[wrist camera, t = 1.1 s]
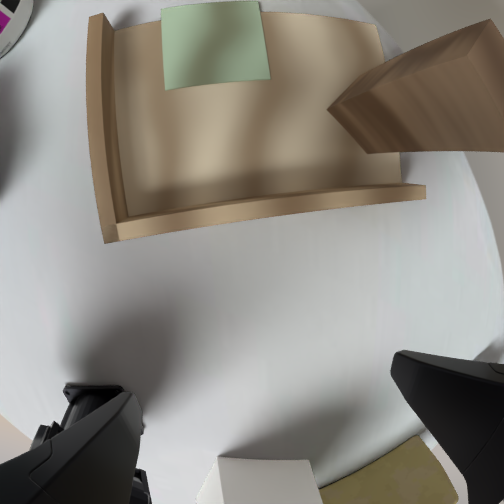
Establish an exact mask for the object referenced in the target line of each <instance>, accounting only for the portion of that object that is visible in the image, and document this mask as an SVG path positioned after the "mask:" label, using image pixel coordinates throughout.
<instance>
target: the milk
mask: <svg viewBox="0 0 504 504" xmlns="http://www.w3.org/2000/svg"><path fill="white" fill-rule="evenodd" d="M196 504H323V502H322V499H321V496H320V493H319V490H318V487H317V484H316V480H315V477H314V474H313V471H312V468H311V465H310V462H309V460H256V459H238V458H226V457H217V458H216V460H215V462H214V464H213V466H212V468H211V470H210V472H209V474H208V475H207V477H206V479H205V481H204V483H203V485H202V487H201V489H200V491H199V493H198V495H197V497H196Z"/></svg>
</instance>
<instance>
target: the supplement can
mask: <svg viewBox="0 0 504 504" xmlns="http://www.w3.org/2000/svg"><path fill="white" fill-rule="evenodd" d="M33 3H34V1H33V0H0V58H1V57H2V56H3V55H4V54H6V53H7V52H8V51H9V50H10V48H11V47H12V46H13V45H14V44H15V43H16V42H17V40H18V39H19V37H20V36H21V34H22V33H23V31H24V30H25V28H26V26H27V23H28V21H29V19H30V16H31V14H32V9H33Z"/></svg>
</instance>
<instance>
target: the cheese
mask: <svg viewBox="0 0 504 504" xmlns="http://www.w3.org/2000/svg"><path fill="white" fill-rule="evenodd" d="M319 493H320V496H321V499H322V502H323V504H456V503H457V502H458V494H457V493H456V491H455V489H454V487H453V485H452V483H451V481H450V479H449V477H448V476H447V474H446V472H445V470H444V468H443V467H442V465H441V464H440V462H439V461H438V460H437V459H436V457H435V456H434V455H433V453H432V452H431V451H430V449H429V448H428V447H427V446H426V444H425V443H424V442H423V441H422V439H421V438H420V437H419V436H417V435H416V436H413V437H412V438H410V439H409V440H407V441H406V442H404V443H403V444H401V445H400V446H398V447H397V448H395V449H394V450H392V451H391V452H389V453H388V454H386V455H384V456H383V457H381V458H379V459H378V460H376V461H374V462H373V463H371V464H369V465H368V466H366V467H364V468H362V469H360V470H359V471H357V472H355V473H353V474H351V475H349V476H347V477H345V478H343V479H341V480H339V481H337V482H335V483H333V484H330V485H328V486H326V487H324V488H321V489H319Z"/></svg>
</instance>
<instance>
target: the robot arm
mask: <svg viewBox="0 0 504 504" xmlns="http://www.w3.org/2000/svg"><path fill="white" fill-rule="evenodd" d="M390 373H391V376H392V378H393V380H394V382H395V383H396V385H397V386H398V388H399V390H400V391H401V393H402V395H403V396H404V398H405V400H406V401H407V403H408V404H409V405H410V407H411V408H412V409H413V411H414V412H415V413H416V414H417V416H418V417H419V418H420V420H421V421H422V422H423V423H424V425H425V426H426V427H427V429H428V430H429V431H430V432H431V434H432V435H433V436H434V438H435V439H436V440H437V442H438V443H439V444H440V446H441V447H442V448H443V449H444V451H445V452H446V453H447V455H448V456H449V457H450V459H451V460H452V461H453V463H454V464H455V465H456V467H457V468H458V469H459V471H460V472H461V474H463V476H464V478H465V480H466V483H467V489H468V501H469V502H468V503H469V504H499V503H500V502H501V501H502V500H503V501H504V364H497V363H486V362H478V361H471V360H463V359H457V358H450V357H443V356H437V355H431V354H425V353H419V352H414V351H408V350H402V351H399V352H396V353H395V354H394V357H393V361H392V366H391V370H390ZM116 390H117V391H116ZM118 391H119V392H118ZM63 393H64V395H65V396H66V398H67V400H68V402H69V403H70V404H69V406H68V408H67V411H66V413H65V415H64V417H63V420H62V422H61V425H60V426H59V424H58V423H56V422H55V421H53V423H52V424H51V426H45V425H40V427H39V429H38V431H37V433H36V435H35V437H34V440H33V442H32V444H31V447H30V450H29V451H28V452H26V453H24V454H22V455H20V456H18V457H15V458H13V459H11V460H9V461H6V462H4V463H2V464H0V504H152V501H151V497H150V492H149V487H148V482H147V476H146V471H144V470H141V469H137V468H136V464H137V459H138V454H139V448H140V436H141V435H142V434H143V433H144V429H143V427H142V410H141V408H140V405H139V403H138V400H137V398H136V396H135V394H134V393H133V392H124V390H123V388H122V387H120V386H66V387H65V388H64V389H63Z"/></svg>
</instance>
